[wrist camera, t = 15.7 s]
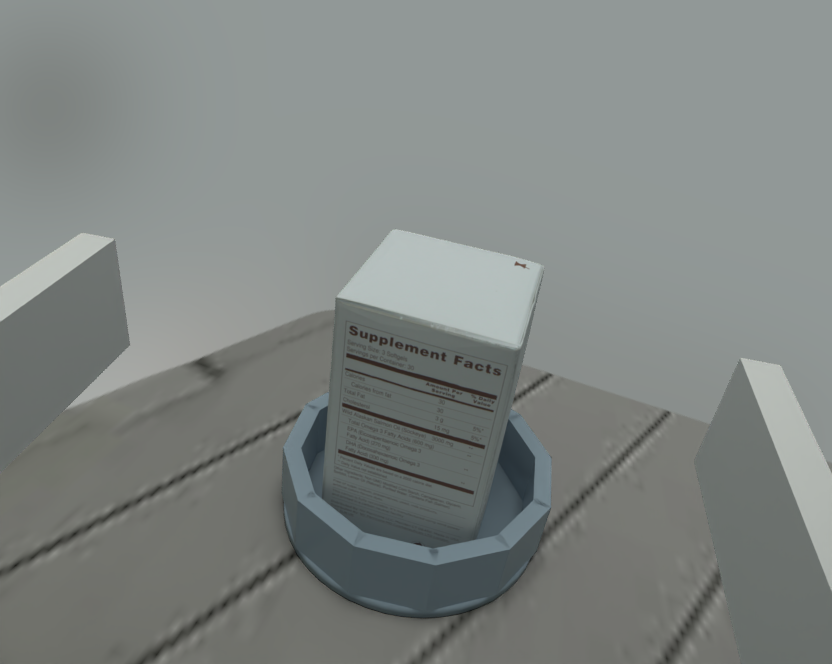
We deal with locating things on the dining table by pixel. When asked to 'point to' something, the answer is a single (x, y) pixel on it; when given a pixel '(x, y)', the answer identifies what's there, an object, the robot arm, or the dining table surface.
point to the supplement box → (424, 386)
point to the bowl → (409, 563)
